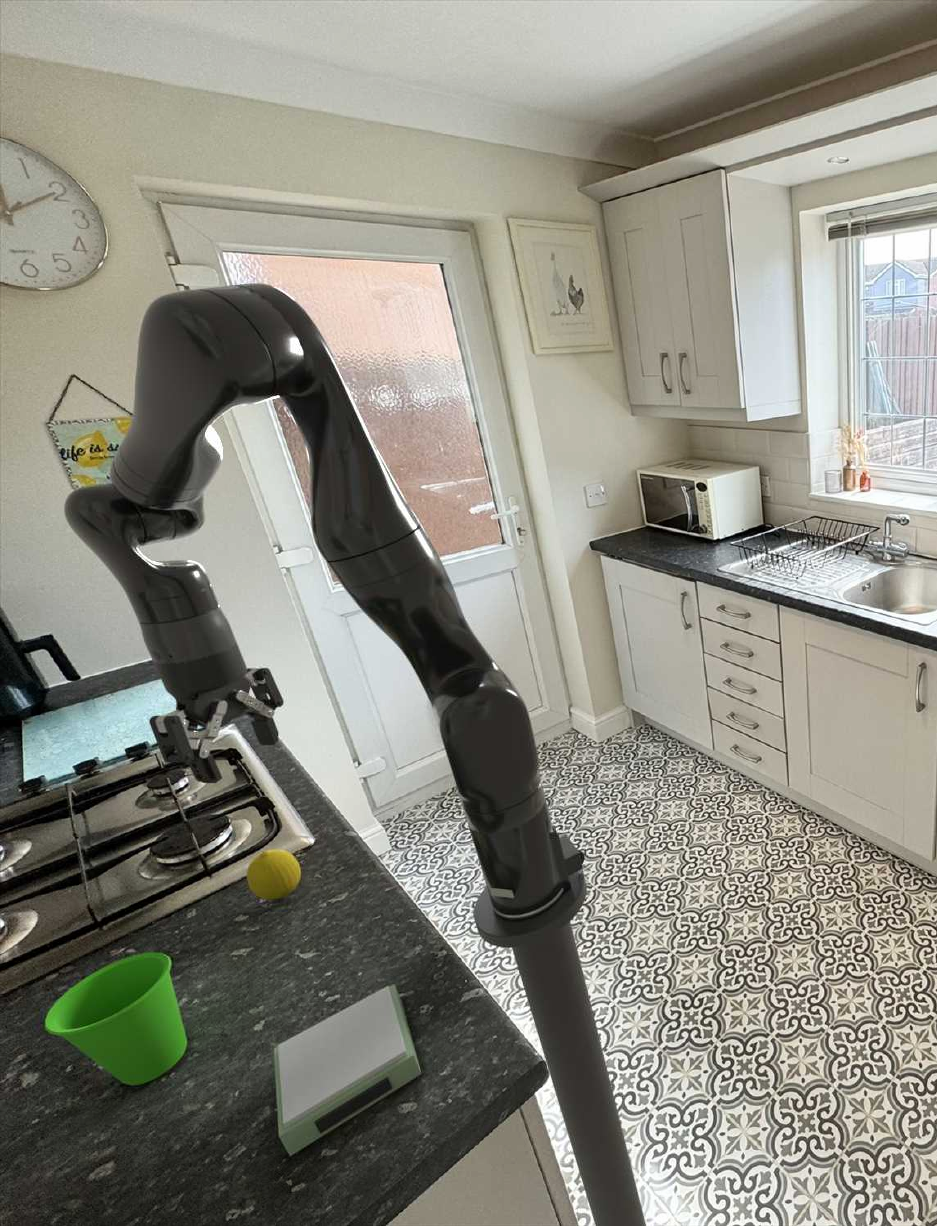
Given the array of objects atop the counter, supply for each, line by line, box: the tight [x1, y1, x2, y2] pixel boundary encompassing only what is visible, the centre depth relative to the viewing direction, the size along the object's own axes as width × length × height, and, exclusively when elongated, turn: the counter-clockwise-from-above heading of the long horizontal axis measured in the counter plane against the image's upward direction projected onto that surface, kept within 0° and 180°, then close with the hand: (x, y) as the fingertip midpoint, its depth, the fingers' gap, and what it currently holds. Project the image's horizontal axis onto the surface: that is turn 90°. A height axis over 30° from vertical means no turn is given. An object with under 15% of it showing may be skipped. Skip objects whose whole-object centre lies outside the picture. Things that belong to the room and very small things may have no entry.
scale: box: [273, 983, 422, 1157], centre depth 66 cm, size 11×11×4 cm
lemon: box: [246, 849, 302, 901], centre depth 89 cm, size 6×6×8 cm
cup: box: [44, 951, 188, 1086], centre depth 67 cm, size 9×9×11 cm
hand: (242, 761), depth 82 cm, fingers open, 8 cm apart
